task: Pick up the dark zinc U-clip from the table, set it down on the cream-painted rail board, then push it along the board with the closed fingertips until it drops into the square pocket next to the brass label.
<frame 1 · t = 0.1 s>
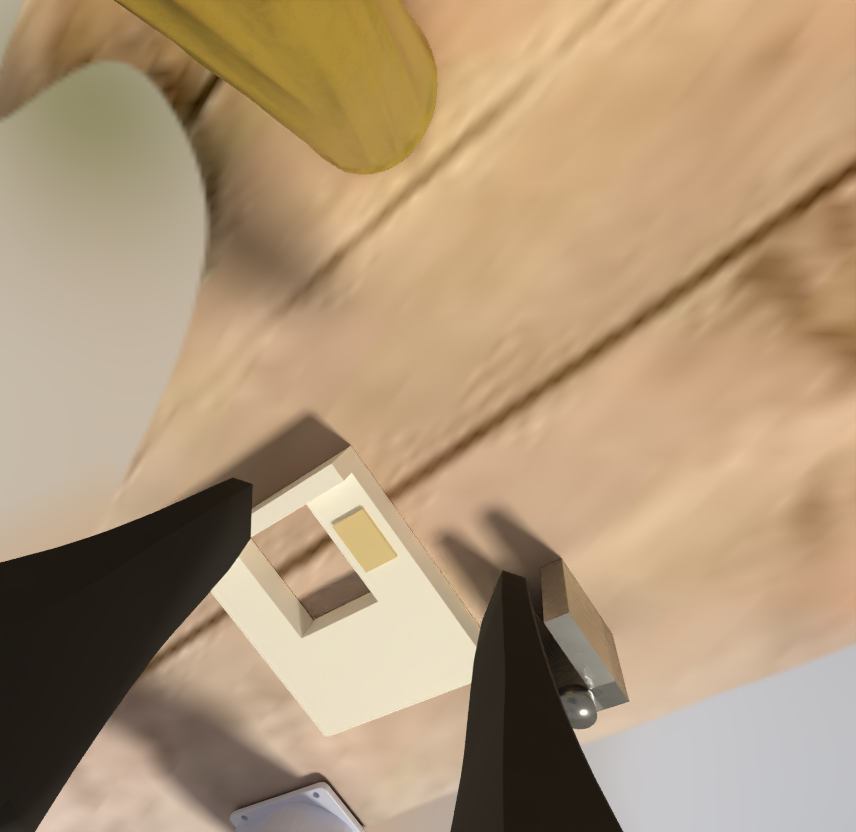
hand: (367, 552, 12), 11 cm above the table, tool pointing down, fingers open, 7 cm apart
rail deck: (342, 594, 26), on the table
vase: (367, 95, 19), on the table
clip: (552, 611, 24), on the table
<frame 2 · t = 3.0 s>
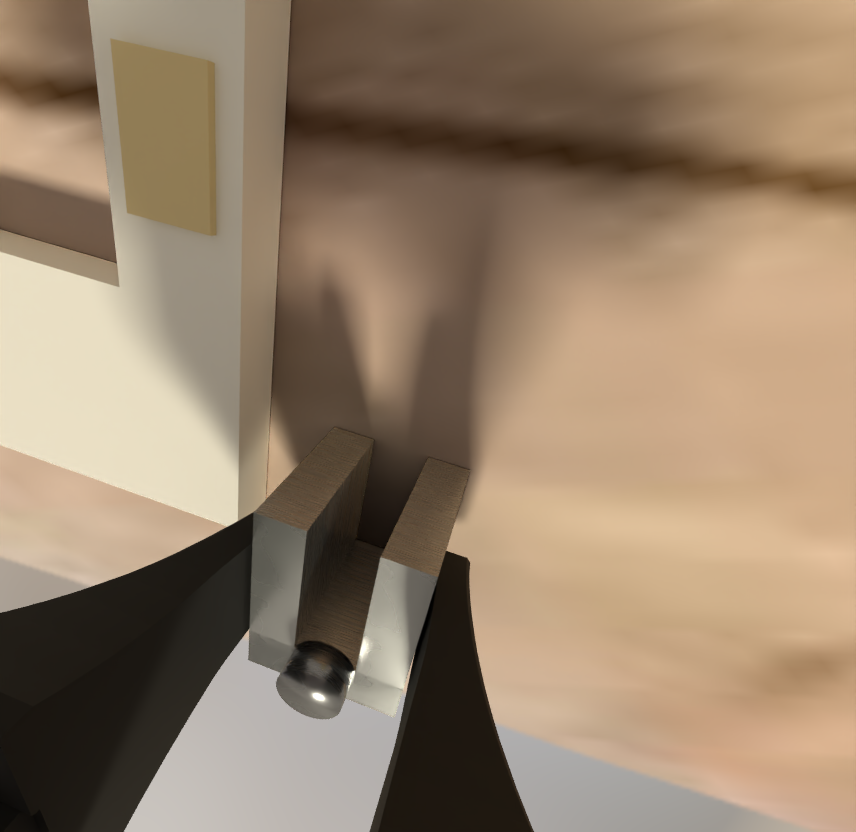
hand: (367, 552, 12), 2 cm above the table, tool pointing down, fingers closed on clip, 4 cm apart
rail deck: (73, 228, 12), on the table
clip: (386, 516, 14), on the table, touching gripper
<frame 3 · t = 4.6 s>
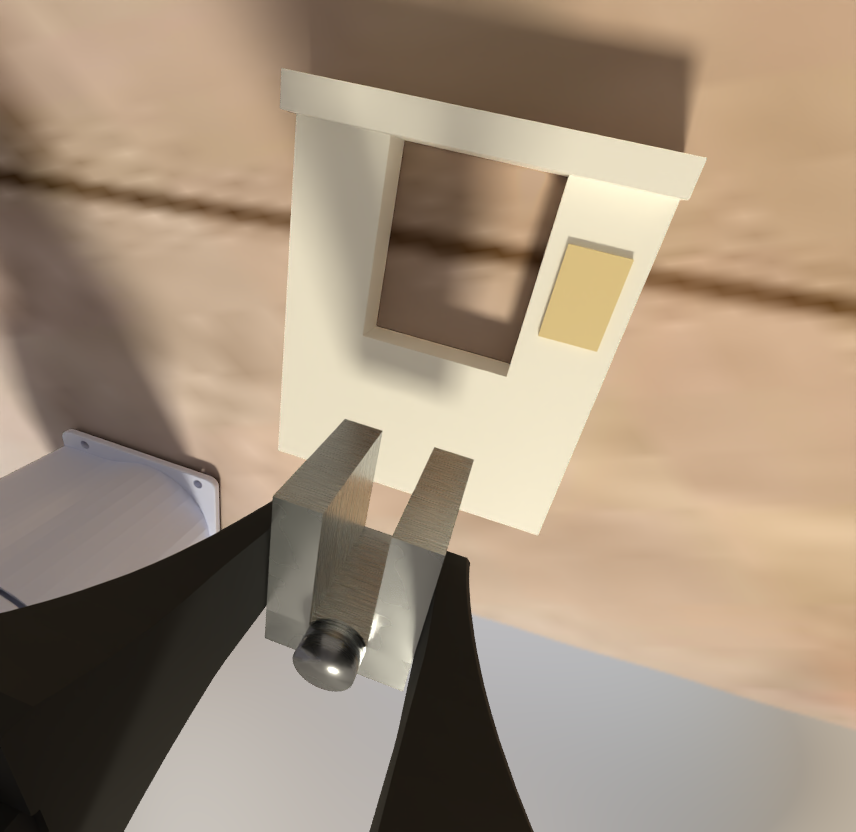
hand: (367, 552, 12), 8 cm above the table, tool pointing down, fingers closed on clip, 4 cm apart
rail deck: (445, 330, 18), on the table
clip: (393, 504, 15), point 6 cm above the table, touching gripper
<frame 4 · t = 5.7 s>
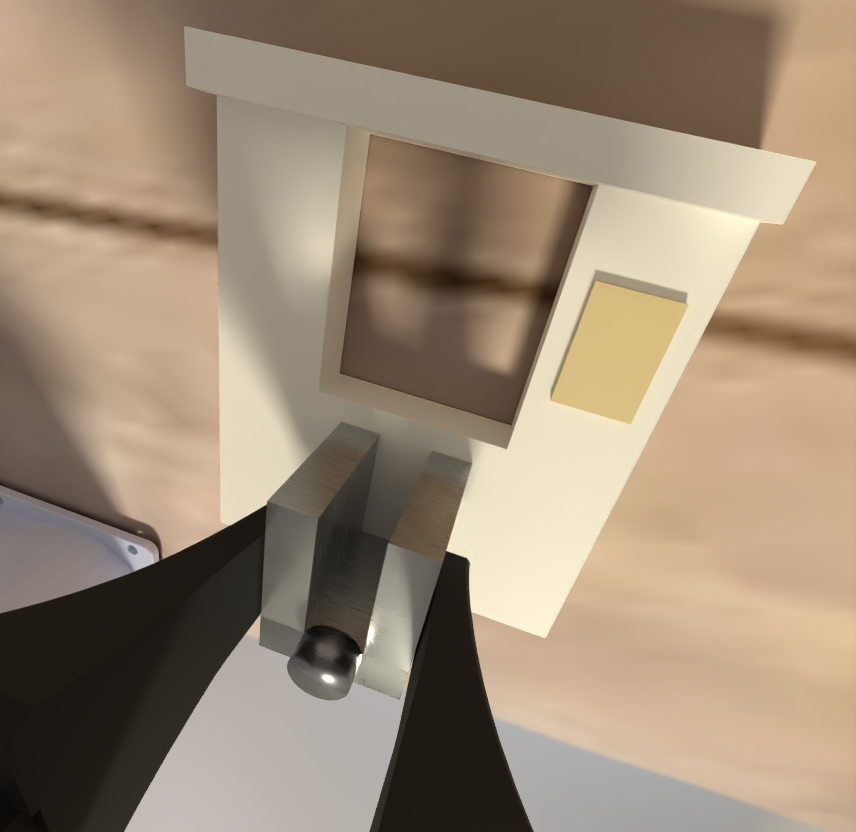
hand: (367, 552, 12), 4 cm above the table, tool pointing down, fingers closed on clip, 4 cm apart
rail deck: (427, 381, 14), on the table
clip: (391, 508, 14), point 1 cm above the table, touching gripper, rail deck
when the fingers open (4 cm above the table, at t = 6.4 s): clip stays where it is, resting on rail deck.
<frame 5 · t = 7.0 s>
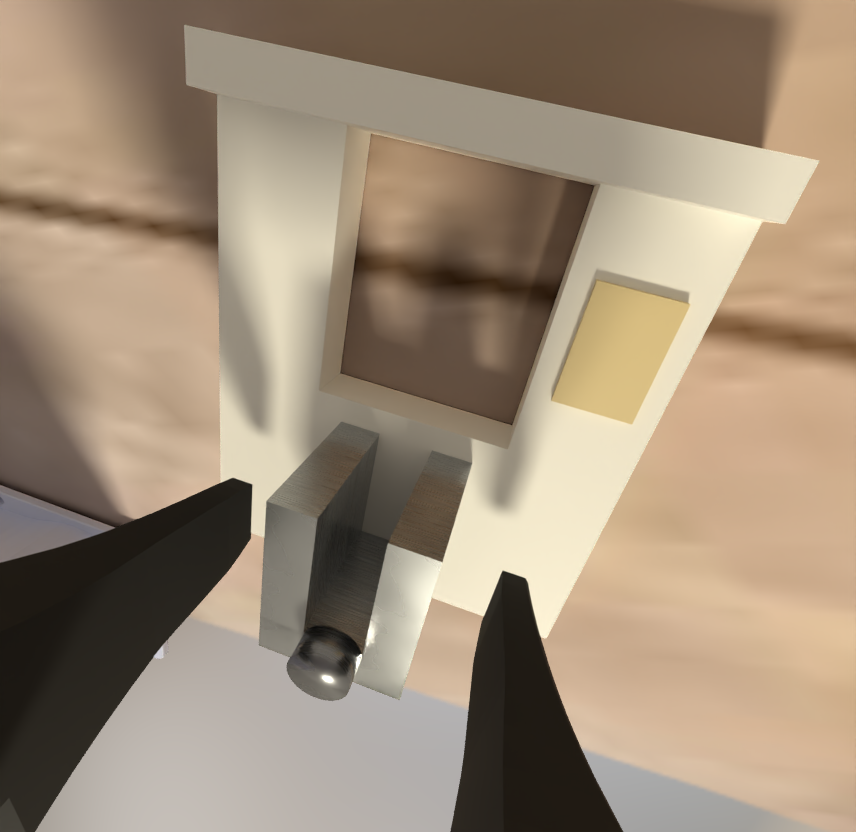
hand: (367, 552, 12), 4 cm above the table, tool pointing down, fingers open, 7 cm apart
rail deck: (428, 381, 14), on the table
clip: (391, 508, 14), point 1 cm above the table, touching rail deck
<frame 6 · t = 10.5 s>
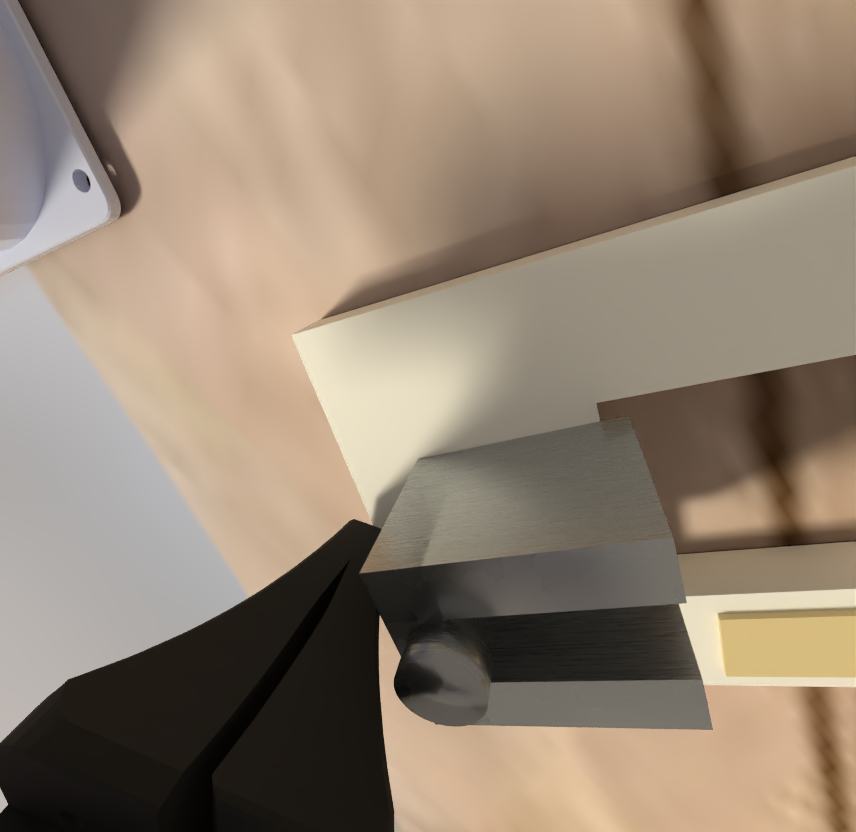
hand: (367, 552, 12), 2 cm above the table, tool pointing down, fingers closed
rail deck: (634, 472, 12), on the table
clip: (537, 508, 11), point 2 cm above the table, touching gripper
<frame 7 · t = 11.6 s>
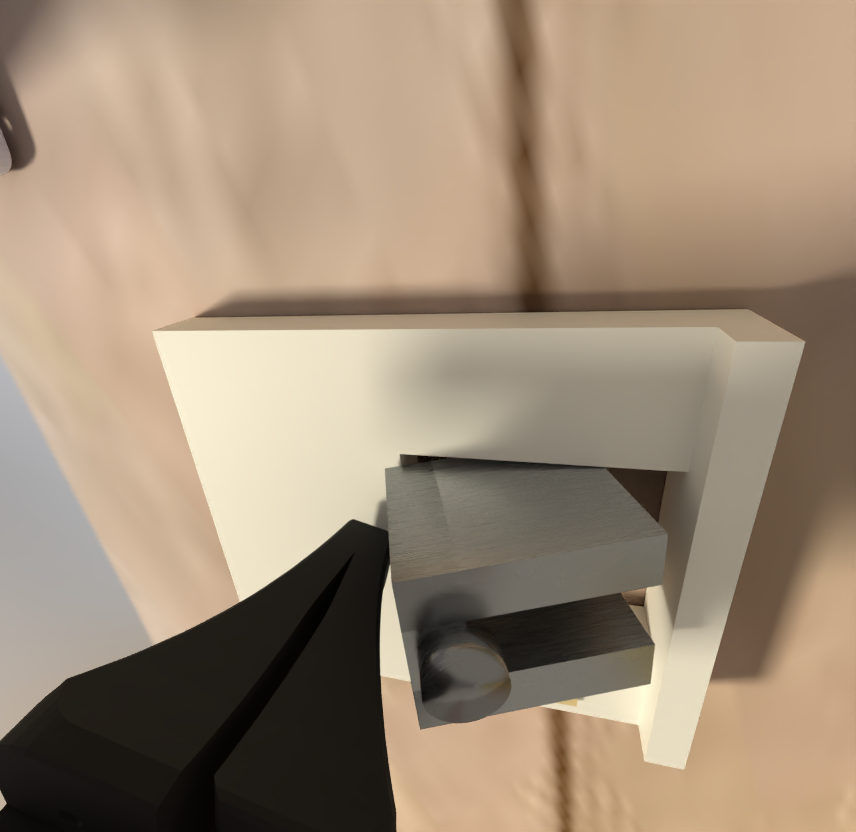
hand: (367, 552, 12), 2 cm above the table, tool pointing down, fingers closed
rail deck: (441, 511, 14), on the table
clip: (486, 516, 12), point 1 cm above the table, tilted 21°, touching gripper
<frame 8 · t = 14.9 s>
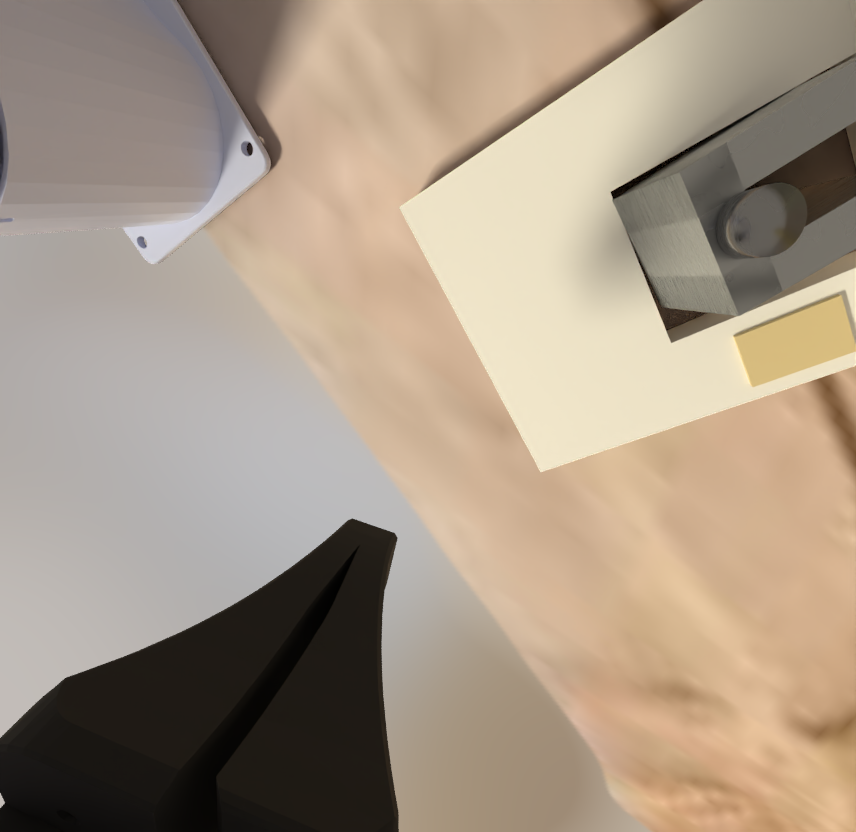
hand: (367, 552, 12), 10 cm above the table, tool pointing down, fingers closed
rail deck: (652, 257, 17), on the table
clip: (707, 212, 15), point 1 cm above the table, tilted 17°, touching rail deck
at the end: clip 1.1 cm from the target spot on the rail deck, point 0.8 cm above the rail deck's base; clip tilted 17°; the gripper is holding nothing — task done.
